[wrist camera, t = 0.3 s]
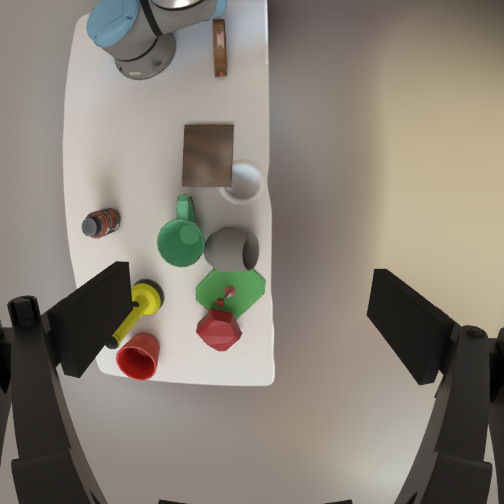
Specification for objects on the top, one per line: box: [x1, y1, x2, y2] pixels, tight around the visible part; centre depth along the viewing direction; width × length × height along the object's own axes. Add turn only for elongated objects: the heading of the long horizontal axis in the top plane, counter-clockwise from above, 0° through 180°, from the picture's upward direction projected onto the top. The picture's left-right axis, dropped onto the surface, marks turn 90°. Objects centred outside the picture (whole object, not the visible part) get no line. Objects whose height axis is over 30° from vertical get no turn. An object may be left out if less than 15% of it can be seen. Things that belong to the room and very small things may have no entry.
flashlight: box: [105, 279, 165, 349], centre depth 60 cm, size 25×9×9 cm
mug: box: [157, 194, 205, 267], centre depth 63 cm, size 15×10×10 cm
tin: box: [213, 19, 227, 77], centre depth 54 cm, size 15×3×8 cm, turn 3°
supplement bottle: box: [82, 208, 120, 238], centre depth 62 cm, size 6×6×11 cm
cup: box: [204, 229, 259, 272], centre depth 64 cm, size 10×9×10 cm
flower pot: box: [116, 333, 159, 380], centre depth 71 cm, size 11×11×10 cm
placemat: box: [182, 125, 234, 187], centre depth 64 cm, size 14×11×1 cm
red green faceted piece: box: [196, 269, 265, 351], centre depth 68 cm, size 15×20×9 cm
